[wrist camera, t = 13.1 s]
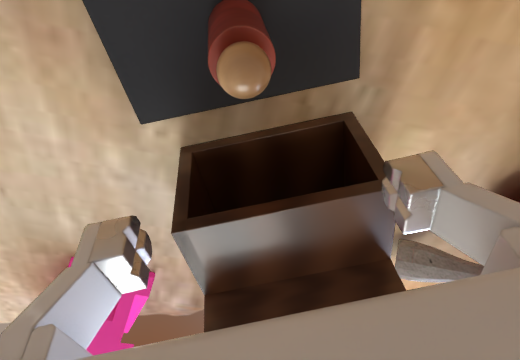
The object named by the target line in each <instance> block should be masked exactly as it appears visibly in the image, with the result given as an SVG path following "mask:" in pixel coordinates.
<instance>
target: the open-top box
mask: <svg viewBox="0 0 520 360" xmlns="http://www.w3.org/2000/svg"><path fill="white" fill-rule="evenodd" d="M384 163H385V162H384V160H383V159H382V157H381V156H380V154H379V153H378V151H377V150H376V148H375V147H374V145H373V143H372V142H371V140H370V139H369V137H368V136H367V134H366V133H365V131H364V130H363V128H362V126H361V125H360V123H359V122H358V120H357V119H356V117H355V116H354V114H353V112H349V113H344V114H340V115H335V116H330V117H325V118H320V119H316V120H311V121H306V122H301V123H297V124H292V125H287V126H282V127H278V128H273V129H268V130H263V131H259V132H254V133H249V134H244V135H240V136H235V137H230V138H225V139H221V140H216V141H211V142H206V143H201V144H197V145H192V146H187V147H182V148H181V151H180V159H179V168H178V177H177V186H176V195H175V204H174V213H173V222H172V231H171V234H172V236H173V238H174V240H175V241H176V243H177V245H178V247H179V249H180V251H181V253H182V254H183V256H184V258H185V260H186V262H187V264H188V266H189V268H190V269H191V271H192V273H193V275H194V277H195V279H196V281H197V282H198V284H199V286H200V288H201V290H202V292H203V294H204V295H205V297H204V333H205V332H210V331H214V330H219V329H224V328H229V327H234V326H239V325H243V324H248V323H253V322H258V321H263V320H267V319H272V318H277V317H282V316H287V315H292V314H296V313H301V312H306V311H311V310H316V309H320V308H325V307H330V306H335V305H340V304H344V303H349V302H354V301H359V300H364V299H369V298H373V297H378V296H383V295H388V294H393V293H397V292H402V291H406V289H405V287H404V285H403V283H402V281H401V279H400V277H399V275H398V273H397V271H396V269H395V267H394V265H393V263H392V261H391V251H392V244H393V237H394V230H395V223H396V221H395V219H394V216H395V212H394V211H392V210H390V209H388V207H387V205H386V204H385V201H384V199H383V195H382V189H381V187H382V180H383V179H384V178H385V177H386V175H385V174H384V172H383V165H384Z"/></svg>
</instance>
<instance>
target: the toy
mask: <svg viewBox="0 0 520 360" xmlns="http://www.w3.org/2000/svg"><path fill="white" fill-rule="evenodd" d="M275 63H276V55H275V49H274V47H273V44H272V42H271V39H270V37H269V34H268V32H267V29H266V27H265V25H264V22H263V20H262V17H261V15H260V13H259V11H258V9H257V8H256V7H255V6H254V5H253V4H252V3H251V2H249V1H248V0H223V1H221V2H219V3H218V4H217V5H216V6H215V7H214V9H213V10H212V12H211V14H210V17H209V21H208V66H209V70H210V73H211V75H212V77H213V78H214V79H215V81H216V82H217V83H218V84H219V85H220V86H221V87H222V88H223V89H224V90H225V91H226V92H227V93H228V94H230V95H231V96H233V97H236V98H239V99H249V98H253V97H255V96H257V95H259V94H260V93H262V92H263V91H264V89H265V88H266V87H267V85H268V83H269V81H270V78H271V75H272V73H273V71H274V68H275Z"/></svg>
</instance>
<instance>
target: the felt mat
mask: <svg viewBox="0 0 520 360" xmlns="http://www.w3.org/2000/svg"><path fill="white" fill-rule="evenodd" d="M82 1H83V3H84V5H85V7H86V9H87V11H88V13H89V15H90V18H91V20H92V22H93V24H94V26H95V28H96V30H97V32H98V35H99V37H100V39H101V41H102V43H103V45H104V47H105V49H106V51H107V54H108V56H109V58H110V60H111V62H112V64H113V66H114V68H115V71H116V73H117V75H118V77H119V79H120V81H121V83H122V85H123V87H124V90H125V92H126V94H127V96H128V98H129V100H130V102H131V104H132V107H133V109H134V111H135V113H136V115H137V117H138V119H139V121H140V123H141V124H146V123H150V122H155V121H160V120H164V119H169V118H174V117H178V116H183V115H188V114H193V113H197V112H202V111H207V110H211V109H216V108H221V107H225V106H230V105H235V104H240V103H244V102H249V101H254V100H258V99H263V98H268V97H273V96H277V95H282V94H287V93H291V92H296V91H301V90H305V89H310V88H315V87H320V86H324V85H329V84H334V83H338V82H343V81H348V80H352V79H357V78H359V69H360V26H361V0H248V1H249V2H251V3H252V4H253V5H254V6H255V7H256V8H257V9H258V11H259V13H260V15H261V17H262V20H263V22H264V25H265V27H266V29H267V32H268V34H269V37H270V39H271V42H272V44H273V47H274V49H275V55H276V63H275V68H274V71H273V73H272V75H271V78H270V81H269V83H268V85H267V87H266V88H265V89H264V91H263V92H262V93H260V94H259V95H257V96H255V97H253V98H249V99H239V98H236V97H233V96H231V95H230V94H228V93H227V92H226V91H225V90H224V89H223V88H222V87H221V86H220V85H219V84H218V83H217V82H216V81H215V79H214V78H213V77H212V75H211V73H210V70H209V66H208V21H209V17H210V14H211V12H212V10H213V9H214V7H215V6H216V5H217V4H218V3H219V2H221V1H223V0H82Z"/></svg>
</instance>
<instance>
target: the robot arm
mask: <svg viewBox="0 0 520 360" xmlns="http://www.w3.org/2000/svg"><path fill="white" fill-rule="evenodd" d="M383 172H384V174H385V175H386V177H385V178H384V179H383V180H382V187H381V189H382V195H383V199H384V201H385V204H386V205H387V207H388V209H390V210H392V211H394V212H395V216H394V219H395V221H396V223H397V225H398V226H399V228H400V230H401V231H402V233H403V234H409V233H414V232H420V231H425V230H430V231H431V232H433V233H434V234H436V235H437V236H439V237H440V238H442V239H443V240H445V241H446V242H448V243H449V244H451V245H452V246H454V247H455V248H457V249H458V250H460V251H461V252H463V253H465V254H466V255H468V256H469V257H471V258H472V259H474V260H475V261H477V262H478V263H480V264H481V265H483V266H484V268H483V270H482V272H481V274H480V275H479V276H475V277H470V278H465V279H460V280H455V281H450V282H446V283H441V284H436V285H431V286H426V287H421V288H417V289H412V290H407V291H402V292H397V293H393V294H388V295H383V296H378V297H373V298H369V299H364V300H359V301H354V302H349V303H344V304H340V305H335V306H330V307H325V308H320V309H316V310H311V311H306V312H301V313H296V314H292V315H287V316H282V317H277V318H272V319H267V320H263V321H258V322H253V323H248V324H243V325H239V326H234V327H229V328H224V329H219V330H214V331H210V332H205V333H200V334H195V335H190V336H186V337H181V338H176V339H171V340H166V341H161V342H157V343H152V344H147V345H142V346H137V347H132V348H128V349H123V350H118V351H113V352H108V353H103V354H99V355H92V354H91V353H90V352H88V351H87V350H86V349H87V348H88V346H89V345H90V343H91V341H92V340H93V338H94V337H95V335H96V334H97V332H98V331H99V329H100V328H101V326H102V325H103V323H104V322H105V320H106V319H107V317H108V316H109V314H110V313H111V311H112V310H113V308H114V307H115V305H116V304H117V302H118V301H119V299H120V298H121V296H122V295H121V294H125V293H130V292H134V291H138V290H142V289H146V288H147V285H148V278H149V271H150V270H149V269H148V267H147V266H146V265H147V263H148V262H149V261H150V260H151V256H152V246H151V241H150V238H149V236H148V234H147V232H146V231H144V230H142V229H140V221H139V220H138V218H137V217H136V216H128V217H122V218H117V219H112V220H107V221H103V222H98V223H93V224H88V225H87V226H86V227H85V228H84V231H83V233H82V236H81V239H80V242H79V245H78V248H77V250H76V253H75V256H74V259H73V262H72V265H71V267H68V268H66V269H65V270H64V271H63V272H62V273H61V274H60V275H59V276H58V277H57V278H56V279H55V280H54V281H53V282H52V283H51V284H50V285H49V286H48V287H47V288H46V289H45V290H44V291H43V292H42V293H41V294H40V295H39V296H38V297H37V298H36V299H35V300H34V301H33V302H32V303H31V304H30V305H29V306H28V307H27V308H26V309H25V310H24V311H23V312H22V313H21V314H20V315H19V316H18V317H17V318H16V319H15V320H14V321H13V322H12V323H11V324H10V325H9V326H8V327H7V328H6V329H5V330H4V331H3V332H2V333H1V335H0V360H520V203H519V202H516V201H514V200H511V199H509V198H506V197H504V196H501V195H499V194H496V193H494V192H491V191H489V190H486V189H484V188H481V187H479V186H476V185H474V184H471V183H463V182H462V181H461V180H460V178H459V177H458V176H457V175H456V174H455V173H454V172H453V171H452V169H451V168H450V167H449V166H448V165H447V164H446V163H445V162H444V161H443V159H442V158H441V157H440V156H439V155H438V154H437V153H436V152H435V151H429V152H424V153H420V154H416V155H412V156H407V157H403V158H398V159H394V160H389V161H385V163H384V165H383Z"/></svg>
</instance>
